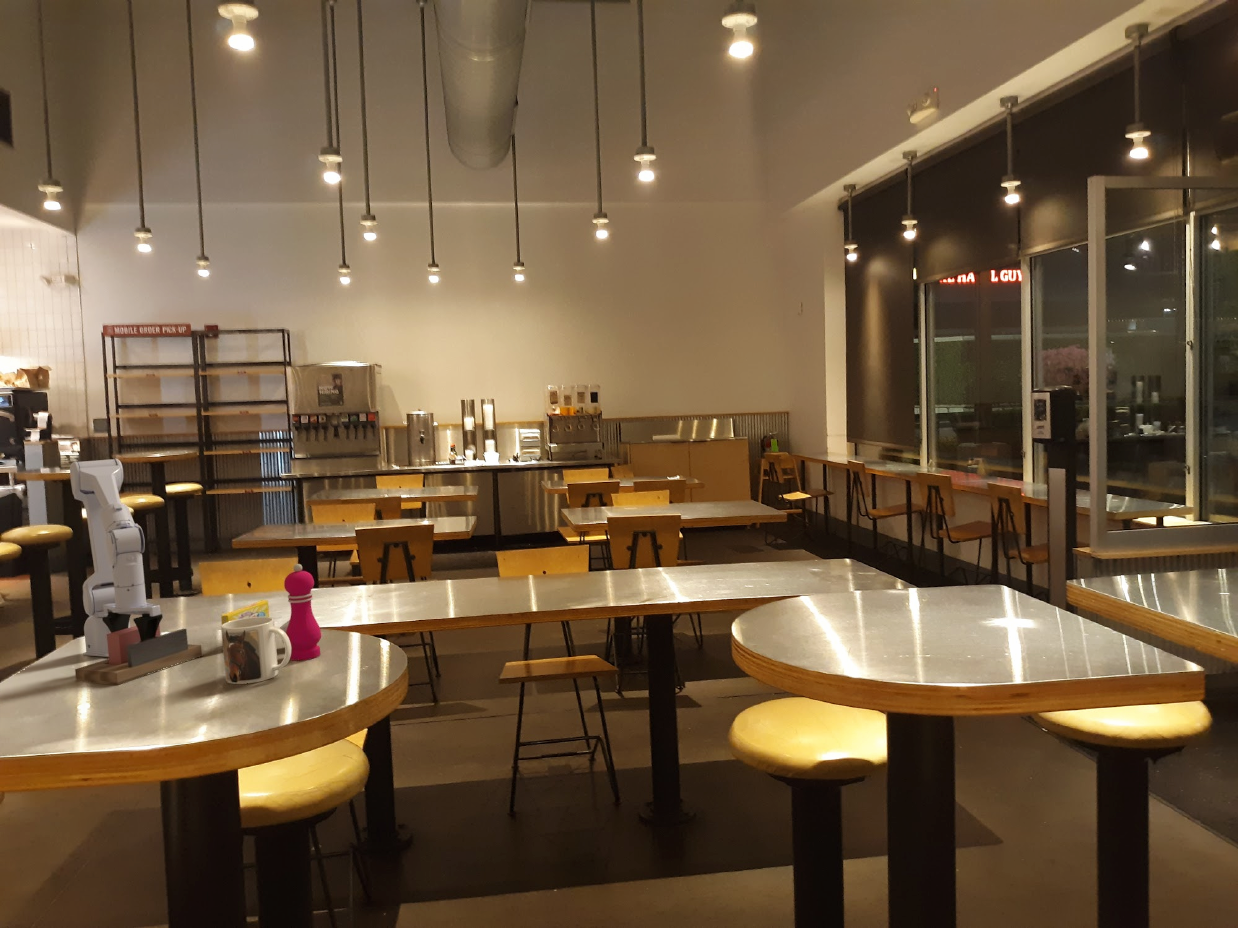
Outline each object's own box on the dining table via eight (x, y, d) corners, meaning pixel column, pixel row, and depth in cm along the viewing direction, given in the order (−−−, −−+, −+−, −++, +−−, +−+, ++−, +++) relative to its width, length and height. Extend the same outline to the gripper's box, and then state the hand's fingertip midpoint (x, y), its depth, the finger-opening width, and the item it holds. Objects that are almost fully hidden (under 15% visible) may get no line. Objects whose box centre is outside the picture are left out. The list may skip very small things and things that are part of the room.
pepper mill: (329, 652, 203) (322, 560, 202) (308, 661, 196) (300, 567, 195) (302, 651, 205) (294, 560, 204) (280, 660, 198) (272, 567, 197)
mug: (269, 666, 194) (264, 613, 194) (295, 675, 186) (290, 620, 185) (217, 678, 187) (212, 624, 186) (242, 689, 179) (237, 632, 178)
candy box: (230, 651, 209) (227, 615, 209) (222, 651, 210) (218, 615, 209) (271, 633, 225) (268, 599, 225) (263, 633, 226) (260, 599, 225)
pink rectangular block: (110, 671, 196) (106, 634, 195) (150, 658, 205) (147, 622, 204) (122, 672, 194) (118, 634, 194) (162, 659, 203) (159, 623, 203)
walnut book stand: (76, 681, 192) (75, 669, 192) (162, 653, 211) (161, 642, 211) (117, 684, 187) (116, 672, 187) (202, 656, 206) (201, 645, 206)
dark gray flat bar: (128, 667, 190) (126, 645, 190) (184, 649, 203) (182, 628, 203) (132, 667, 190) (129, 645, 190) (188, 649, 203) (186, 628, 203)
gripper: (88, 587, 198) (94, 651, 198) (137, 589, 192) (143, 654, 193) (117, 580, 204) (123, 642, 205) (166, 582, 198) (172, 645, 199)
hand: (135, 647), depth 199 cm, fingers open, 7 cm apart
